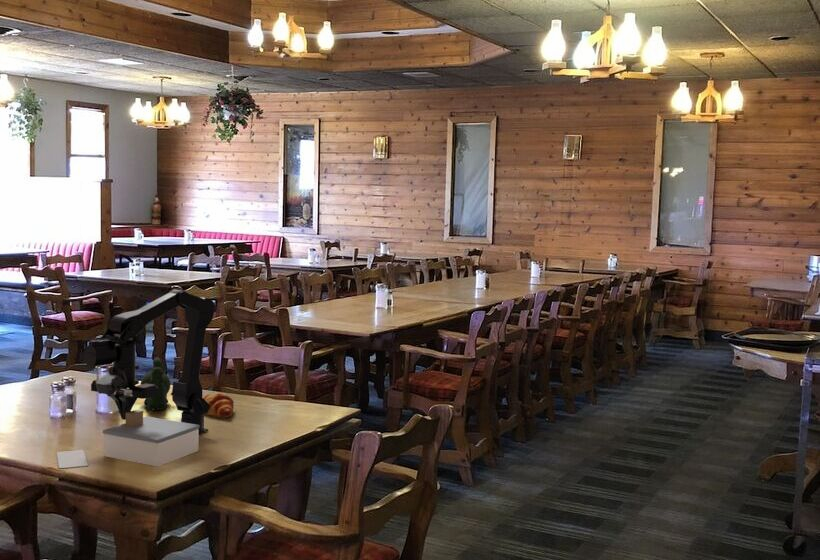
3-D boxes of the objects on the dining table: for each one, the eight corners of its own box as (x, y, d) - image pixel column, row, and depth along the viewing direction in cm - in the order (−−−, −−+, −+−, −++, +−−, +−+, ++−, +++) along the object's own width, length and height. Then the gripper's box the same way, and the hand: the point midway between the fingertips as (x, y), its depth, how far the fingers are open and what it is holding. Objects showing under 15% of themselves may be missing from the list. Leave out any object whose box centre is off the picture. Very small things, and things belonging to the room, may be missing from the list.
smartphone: (58, 468, 214) (56, 451, 227) (58, 470, 214) (56, 453, 227) (88, 465, 217) (84, 449, 230) (88, 467, 217) (84, 451, 230)
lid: (147, 419, 240) (147, 404, 239) (199, 427, 233) (199, 412, 232) (102, 433, 225) (102, 417, 224) (157, 443, 217) (157, 426, 217)
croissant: (198, 416, 282) (186, 396, 280) (224, 400, 287) (213, 380, 284) (220, 431, 265) (208, 409, 262) (248, 412, 269) (236, 391, 266)
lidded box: (146, 441, 240) (146, 420, 240) (198, 450, 233) (198, 429, 232) (103, 456, 226) (103, 433, 225) (158, 466, 218) (158, 443, 218)
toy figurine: (172, 420, 270) (169, 395, 293) (173, 362, 266) (169, 341, 290) (141, 422, 267) (140, 396, 290) (141, 363, 264) (140, 342, 287)
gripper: (75, 363, 227) (75, 421, 229) (129, 371, 220) (129, 431, 221) (106, 357, 238) (106, 412, 239) (159, 364, 230) (159, 421, 231)
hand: (124, 419), depth 232 cm, fingers closed
